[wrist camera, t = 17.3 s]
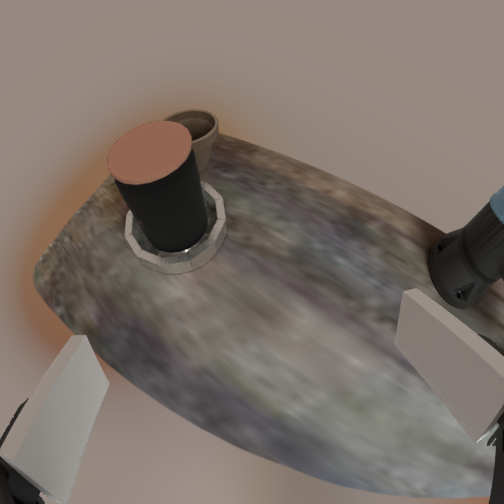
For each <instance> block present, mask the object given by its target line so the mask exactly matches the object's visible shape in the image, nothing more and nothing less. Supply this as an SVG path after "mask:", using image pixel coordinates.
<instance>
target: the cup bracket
mask: <svg viewBox="0 0 504 504" xmlns="http://www.w3.org/2000/svg"><path fill="white" fill-rule="evenodd" d="M200 183H201V188H202V193H203V197H204V202H205V207H206V212H207V219H208V225H207V228H206V231H205V233H204V235H203V236H202V238H201V239H200V240H199V242H198V243H196V244H195V245H194V246H192V247H191V248H189V249H187V250H184V251H182V252H175V253H169V252H164V251H160V250H158V249H157V248H155V247H153V246H152V245H151V243H150V242H149V241H148V239H147V238H146V236H145V234H144V233H143V231H142V229H141V228H140V226H139V224H138V223H137V221H136V219H135V217H134V216H133V214H132V212H131V210H129V211H128V213H127V215H126V227H125V238H126V240H127V241H128V243H129V245H130V246H131V248H132V249H133V251H134V253H135V254H136V256H137V257H138V258H139V260H140V261H141V262H142V264H144V265H145V266H148V267H149V268H150V269H152V270H154V271H157V272H160V273H163V274H173V275H175V274H183V273H188V272H191V271H194V270H196V269H198V268H200V267H202V266H203V265H205V264H206V263H207V262H209V261H210V260H211V259H212V258H213V257H214V256H215V255H216V253H217V252H218V251H219V249H220V247H221V246H222V244H223V241H224V239H225V234H226V232H227V225H226V218H225V211H224V204H223V198H222V196H221V195H220V194H219V193H218V192H217V191H216V190H215V189H214V188H213V187H212V186H211V185H209V184H208V183H207V182H205V181H201V180H200Z"/></svg>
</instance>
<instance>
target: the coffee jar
mask: <svg viewBox="0 0 504 504" xmlns="http://www.w3.org/2000/svg"><path fill="white" fill-rule="evenodd" d="M107 164H108V169H109V171H110V173H111V174H112V175H113V177H114V178H115V183H116V185H117V187H118V189H119V191H120V193H121V194H122V196H123V198H124V200H125V202H126V203H127V205H128V207H129V209H130V210H131V212H132V214H133V216H134V217H135V219H136V221H137V223H138V224H139V226H140V228H141V229H142V231H143V233H144V234H145V236H146V238H147V239H148V241H149V242H150V243H151V245H152V246H153V247H155V248H157V249H158V250H160V251H164V252H169V253H175V252H182V251H184V250H187V249H189V248H191V247H192V246H194V245H195V244H196V243H198V242H199V240H200V239H201V238H202V236H203V235H204V233H205V231H206V228H207V225H208V219H207V212H206V207H205V202H204V197H203V193H202V188H201V183H200V178H199V173H198V168H197V163H196V157H195V152H194V150H193V148H192V137H191V135H190V133H189V131H188V129H187V128H186V127H184V126H183V125H181V124H180V123H176V122H172V121H156V122H151V123H146V124H144V125H141V126H138V127H136V128H134V129H132V130H131V131H129V132H127V133H126V134H124V135H123V136H122V137H121V138H120V139H119V140H118V141H117V142H116V143H115V144H114V146H113V147H112V148H111V150H110V152H109V155H108V158H107Z"/></svg>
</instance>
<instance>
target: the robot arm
mask: <svg viewBox="0 0 504 504" xmlns="http://www.w3.org/2000/svg"><path fill="white" fill-rule="evenodd" d="M429 269H430V274H431V277H432V280H433V283H434V285H435V287H436V289H437V291H438V292H439V294H440V295H441V296H442V298H443V299H444V300H445V301H446V302H447V303H449V304H450V305H452V306H453V307H455V308H459V309H466V308H469V307H471V306H473V305H475V304H477V303H478V302H479V301H480V300H481V299H482V298H483V296H484V295H485V294H486V293H487V291H488V290H489V289H490V287H491V286H492V285H493V283H494V282H496V281H497V280H499V279H501V278H502V279H503V281H504V186H503V187H502V188H501V189H500V190H499V191H498V192H497V193H495V194H493V195H492V197H491V198H490V201H489V202H488V203H487V204H486V205H485V206H484V207H483V208H482V210H481V211H480V212H479V213H478V214H477V215H476V216H475V217H474V218H473V219H472V220H471V221H470V222H469V223H468V224H467V225H466V226H465V227H463V228H461V229H458V230H456V231H453V232H450V233H447V234H445V235H443V236H442V237H440V238H439V239H438V240H437V241H436V242H435V243H434V245H433V246H432V248H431V251H430V255H429ZM394 345H395V346H396V347H397V348H398V349H399V351H400V352H401V353H402V354H403V355H404V356H405V357H406V359H407V360H408V361H409V362H410V363H411V364H412V366H413V367H414V368H415V369H416V370H417V371H418V373H419V374H420V375H421V376H422V377H423V379H424V380H425V381H426V382H427V383H428V385H429V386H430V387H431V388H432V389H433V391H434V392H435V393H436V394H437V395H438V397H439V398H440V399H441V400H442V402H443V403H444V404H445V405H446V407H447V408H448V409H449V410H450V412H451V413H452V414H453V415H454V417H455V418H456V419H457V420H458V422H459V423H460V424H461V426H462V427H463V428H464V429H465V431H466V432H467V433H468V435H469V436H470V437H471V439H472V440H473V441H474V443H475V444H476V443H477V442H478V441H479V440H481V439H482V438H483V437H485V436H486V435H487V434H488V433H489V432H490V431H491V430H492V428H493V427H494V426H495V424H496V423H498V424H499V425H500V426H499V427H498V428H497V430H496V431H495V432H494V434H493V435H492V436H491V437H490V439H489V440H488V443H487V446H489V445H490V444H491V443H492V442H493V441H494V439H495V438H496V440H495V442H494V443H493V445H492V446H496V455H495V467H494V475H493V483H492V489H491V495H490V500H489V504H504V350H503V349H501V348H500V347H499V348H498V345H496V344H495V343H494V342H493V341H492V340H490V339H489V338H487V337H485V336H482V335H480V334H476V333H475V332H474V331H472V330H471V329H470V328H469V327H467V326H466V325H465V324H464V323H462V322H461V321H460V320H458V319H457V318H456V317H455V316H453V315H452V314H451V313H449V312H448V311H447V310H445V309H444V308H443V307H441V306H440V305H439V304H437V303H436V302H435V301H433V300H432V299H431V298H429V297H428V296H426V295H425V294H424V293H422V292H421V291H420V290H418V289H417V288H415V289H411V290H407V291H403V294H402V301H401V308H400V314H399V320H398V326H397V332H396V337H395V342H394ZM109 385H110V384H109V382H108V380H107V379H106V376H105V374H104V373H103V371H102V369H101V367H100V365H99V362H98V360H97V358H96V356H95V354H94V352H93V350H92V347H91V345H90V343H89V341H88V338H87V336H86V335H73V336H71V338H70V339H69V340H68V342H67V343H66V344H65V346H64V347H63V348H62V350H61V352H60V353H59V354H58V355H57V357H56V358H55V360H54V361H53V363H52V364H51V365H50V367H49V368H48V370H47V371H46V373H45V374H44V376H43V377H42V379H41V380H40V382H39V383H38V385H37V386H36V388H35V389H34V391H33V392H32V394H31V396H30V397H29V398H28V399H27V400H26V401H25V402H24V403H22V404H21V405H20V406H19V408H18V410H17V411H16V413H15V414H14V418H12V420H11V421H10V425H8V427H7V428H6V430H5V432H4V434H3V436H2V437H1V439H0V504H45V502H44V501H43V499H42V498H41V497H40V496H39V494H40V491H41V492H42V493H43V494H45V495H46V496H47V497H49V498H50V499H52V500H54V501H57V502H59V503H62V504H68V501H69V497H70V494H71V490H72V487H73V483H74V480H75V477H76V474H77V471H78V467H79V464H80V461H81V458H82V455H83V452H84V449H85V447H86V443H87V440H88V438H89V435H90V432H91V430H92V427H93V425H94V422H95V419H96V417H97V414H98V412H99V409H100V406H101V404H102V401H103V399H104V397H105V394H106V392H107V389H108V387H109Z"/></svg>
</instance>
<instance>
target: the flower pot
mask: <svg viewBox="0 0 504 504" xmlns="http://www.w3.org/2000/svg"><path fill="white" fill-rule="evenodd" d="M163 121H172V122H176V123H180V124H181V125H183V126H184V127H186V128H187V129H188V131H189V133H190V135H191V137H192V148H193V150H194V152H195V157H196V163H197V168H198V173H200V172H202V171H204V170H205V169H206V168H207V166H208V164H209V161H210V156H211V151H212V145H213V142H214V141H215V139H216V138H217V136H218V120H217V118H216V116H215V115H213V114H212V113H210V112H208V111H204V110H185V111H181V112H177V113H174V114H172V115H170V116H168V117H167V118H165V119H164V120H163Z"/></svg>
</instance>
